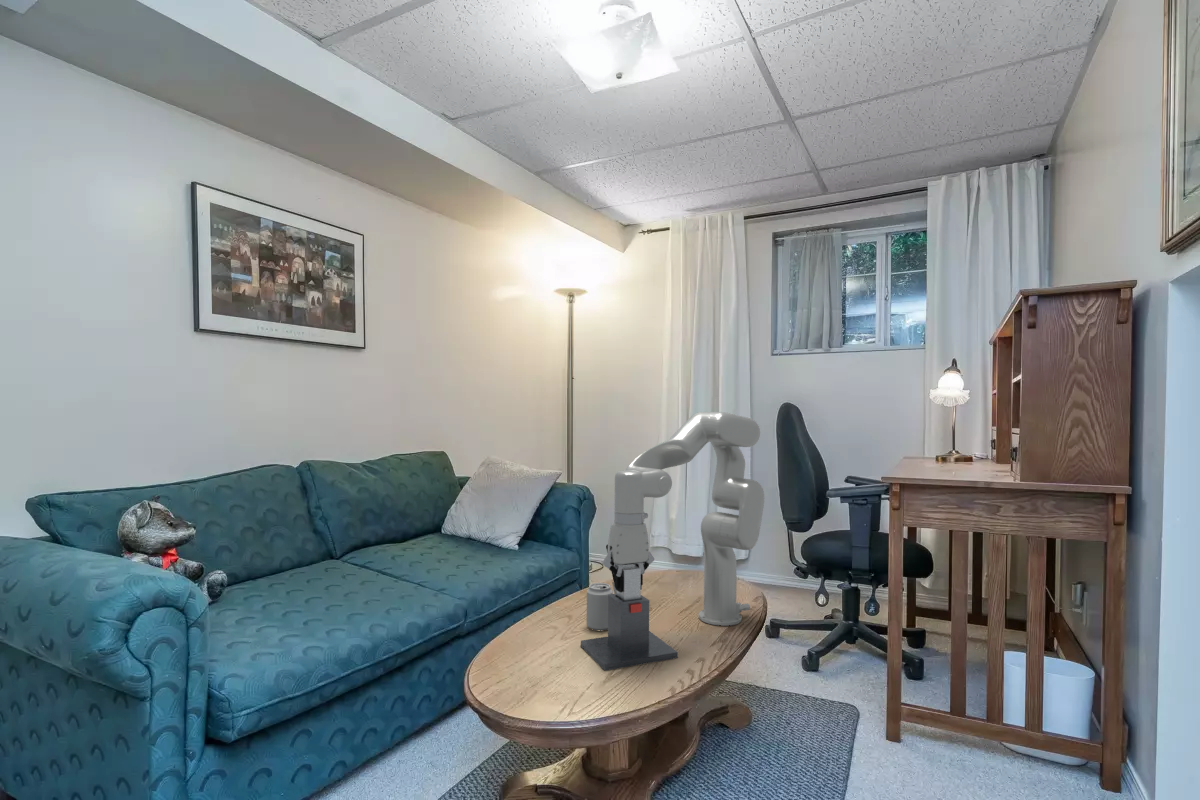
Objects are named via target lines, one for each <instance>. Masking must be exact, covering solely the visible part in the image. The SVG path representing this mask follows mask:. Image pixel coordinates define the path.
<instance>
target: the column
mask: <svg viewBox="0 0 1200 800" xmlns="http://www.w3.org/2000/svg"><path fill="white" fill-rule="evenodd" d="M621 576H622V577H623V592H619V591H617V598H619V599H620V600H621V601H623V602H626V601H634V600H641V595H642V594H641V593H642V592H641V591H642V589H641V568H639V567H637V566H635V565H634V564H629V565H623V569H622V573H621Z"/></svg>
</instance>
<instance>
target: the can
mask: <svg viewBox="0 0 1200 800" xmlns="http://www.w3.org/2000/svg"><path fill="white" fill-rule="evenodd" d="M611 587H612V585H610V584H608V583H605V582H594V583H591V584H589V586H588V589H587V590H586V626H587V627H588V628H589V629H590V628H591V629H593V630H592V631H595V630H600V631H599V632H602V631H601V630H605V631H608V630H607V629H608V595H610V594H614V589H613V588H611ZM591 629H590V630H591Z"/></svg>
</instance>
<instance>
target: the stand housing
mask: <svg viewBox="0 0 1200 800" xmlns="http://www.w3.org/2000/svg"><path fill="white" fill-rule="evenodd" d="M580 647H581V648H582V649H583V648H584V649H583V651H585V653H586V654H588V656H589V657H590V658H591V659H593V661H594V662H595V663H597V665H598V666H599V668H601V669H602V670H603V671H611V670H612V671H613V670H617V669H618V670H619V669H624V668H628V667H634V666H641V665H646V664H651V663H657V662H663V660H664V661H668V660H674V659H673V658H675V659H678V658H679V654H678V653H679V652H678V651H677V650H676V649H675V648H673V647H672V646H670V645H669V644H668V643H666V642H665V641H663V640H662V638H659V637H658V636H657V635H655V634H654V633H653V632H652V631H650V600H649V599H648V598H647V597H646V596H643V595H642V594H641V600H634V601H626V602H623V601H621V600H620V599H619V598H617V594H615V593H613V594H610V595H608V630H607V636H603V637H601V636H600V637H595V638H591V639H590V638H589V639H583V640H582V639H581V640H580Z"/></svg>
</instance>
